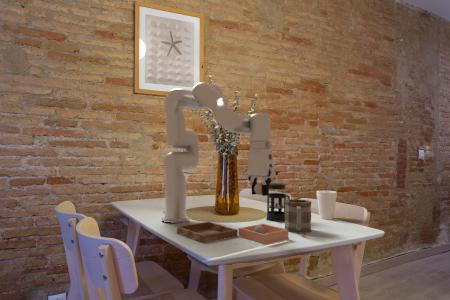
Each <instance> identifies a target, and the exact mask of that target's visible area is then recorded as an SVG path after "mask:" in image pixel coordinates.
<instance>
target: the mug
mask: <svg viewBox="0 0 450 300" xmlns="http://www.w3.org/2000/svg"><path fill="white" fill-rule="evenodd" d="M311 221H312V201H311V200H308V199H307V200H306V199H299V198H297V199H295V198H294V199H293V198H292V199H291V198H290V199H289V200H288V199H286V200H285V221H284V229H287V230H288V233H293V234H308V233H310V232H312V227H311V226H312V224H311V223H312V222H311Z"/></svg>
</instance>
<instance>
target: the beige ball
mask: <svg viewBox="0 0 450 300" xmlns="http://www.w3.org/2000/svg"><path fill="white" fill-rule="evenodd" d="M262 185H264V184H263V182H262V183H261V182H259V183H258V182H257V184H256V185H255V187H254V191H255V193H256V194H255V195H258V196H261V195H262Z"/></svg>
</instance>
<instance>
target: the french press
mask: <svg viewBox="0 0 450 300" xmlns="http://www.w3.org/2000/svg"><path fill="white" fill-rule="evenodd" d="M274 173H275V175H276V178H275V179H276V182H271V183H270V185H269V190H275V192H272V193H270V192H269V195H267V196H266V197H267V198H266V205H267V206H266V220H267V221H270V222H276V223H277V222H285V200H289V199H291V196H290V195H287V194H286V193H279V192H278V190H286V186H287V184H286V183H283V182H278V175H279V173H282V172H281V171H280V170H274Z"/></svg>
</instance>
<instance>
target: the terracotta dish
mask: <svg viewBox="0 0 450 300" xmlns="http://www.w3.org/2000/svg"><path fill="white" fill-rule="evenodd" d="M258 225H260V226H263V227H264V228H265V234H261V233H257V232H254V228H255V227H256V226H258ZM238 237H241V238H243V239H247V240H251V241H255V242H256V243H257V242H258V243H261V244H264V245H265V244H267V243H268V244H269V243H272V242H277V241H279V240H284V239H289V232H288V230H287V229H285V228H282V227H278V226H275V225H270V224H267V223H259V224H254V225H253V224H252V225H248V226H242V227H238Z"/></svg>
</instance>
